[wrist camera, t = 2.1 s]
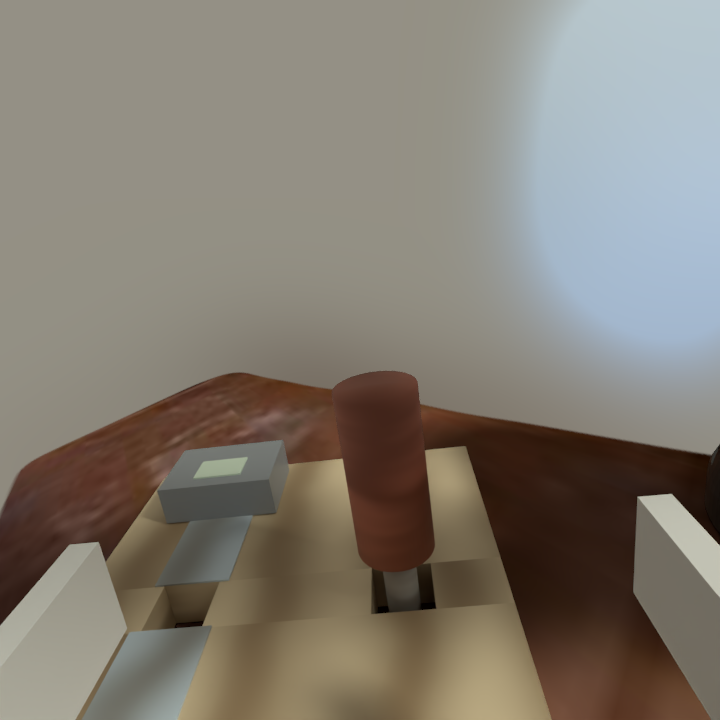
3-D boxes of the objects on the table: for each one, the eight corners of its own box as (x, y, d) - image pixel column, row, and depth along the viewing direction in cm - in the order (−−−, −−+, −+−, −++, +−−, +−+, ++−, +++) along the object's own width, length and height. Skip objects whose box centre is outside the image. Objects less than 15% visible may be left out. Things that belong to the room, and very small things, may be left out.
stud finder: (289, 470, 37) (282, 438, 37) (276, 512, 33) (268, 477, 32) (193, 480, 38) (184, 449, 37) (167, 523, 33) (156, 489, 32)
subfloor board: (468, 476, 38) (465, 444, 37) (554, 771, 19) (552, 720, 19) (173, 506, 40) (165, 476, 39) (-11, 802, 21) (-35, 757, 20)
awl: (440, 597, 28) (414, 367, 24) (448, 656, 25) (420, 399, 20) (372, 603, 28) (335, 376, 24) (371, 661, 25) (328, 409, 21)
